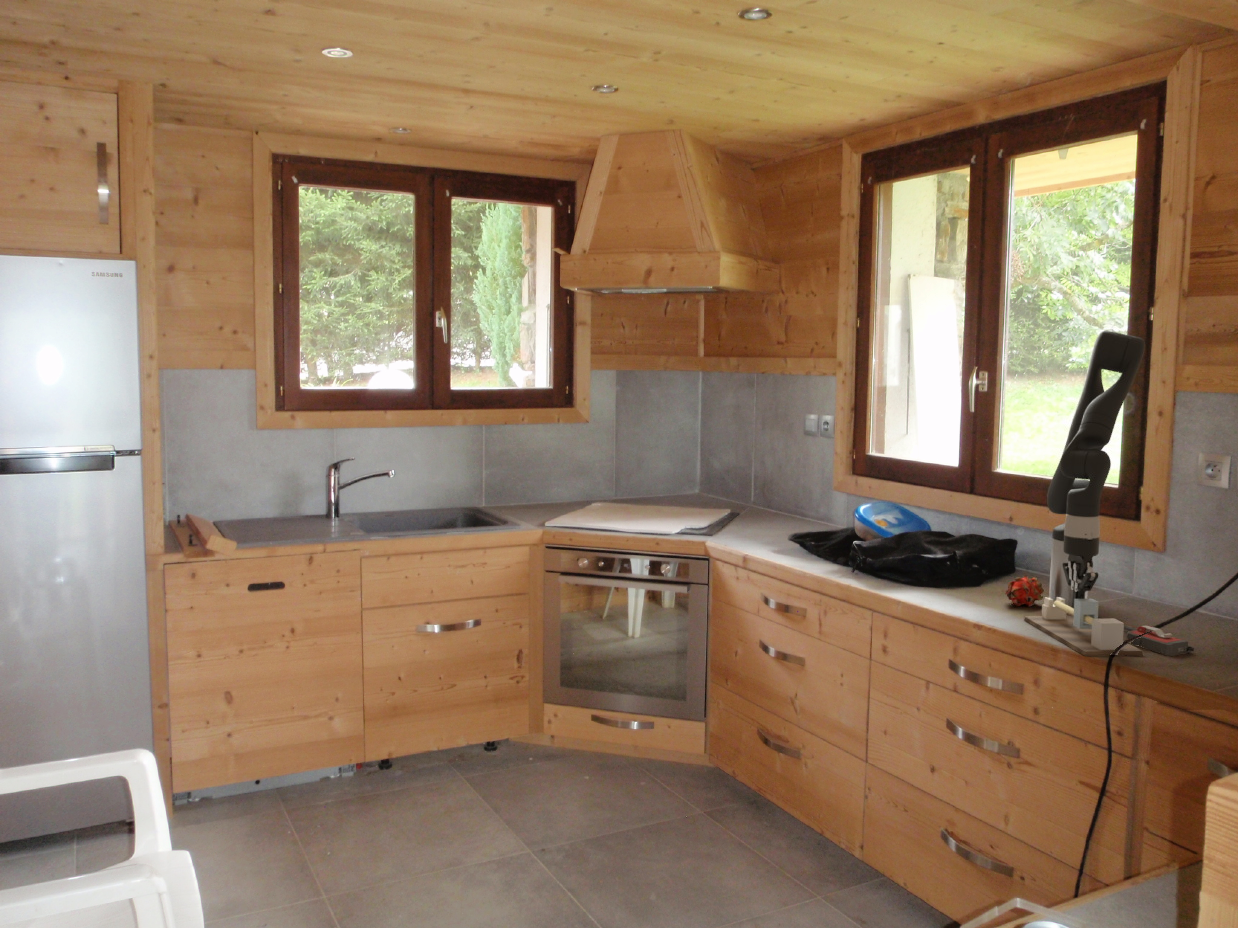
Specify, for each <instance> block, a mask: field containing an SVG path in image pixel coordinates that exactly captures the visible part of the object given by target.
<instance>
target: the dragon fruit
mask: <svg viewBox="0 0 1238 928" xmlns="http://www.w3.org/2000/svg"><path fill="white" fill-rule="evenodd" d="M1044 592H1045V591H1044V588H1043V585H1042V582H1041V581H1040V580H1039V581H1038V578H1037V577H1032V578H1030V577H1028V575H1026V574H1025V575H1023V577H1019V576H1018V577H1016V578H1015V579H1014V580H1011V581H1010V582H1009V583H1008V585H1007V589H1006V591H1005V595H1006V596H1007V598H1008V600H1009V601H1011V603H1010V605H1011V606H1016V607H1020V606H1022V605H1026V606H1027V607H1029V608H1031V606H1033V605H1035V602H1036V601H1041V600H1044V599H1043V598H1044V596H1043V595H1041V594H1043V593H1044Z"/></svg>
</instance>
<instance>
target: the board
mask: <svg viewBox="0 0 1238 928" xmlns="http://www.w3.org/2000/svg"><path fill="white" fill-rule="evenodd" d="M1073 618H1074V616H1073V615H1066V619H1048V620H1046V619H1044V618H1043V617H1042V615H1040V616H1039V615H1035V616H1033V615H1028V616H1026V615H1025V616H1024V618H1023V620H1024V621H1026V622H1027V623H1029V624H1030V625H1031V626H1033V627H1035V628H1037V629H1038V630H1040V631H1042V632H1043V633H1045V634H1046V635H1048V636H1050V637H1052V638H1053V639H1055V640H1057V641H1058V642H1060V643H1062V644H1064V645H1065V646H1067V647H1069V648H1071V649H1073V650H1074V651H1075V650H1076V652H1077V653H1079V654H1080V655H1082V656H1083V657H1101V656H1102V657H1104V656H1105V657H1107V656H1108V657H1109V655H1110V654H1111V653H1113V652H1114V650H1099V649H1098V648H1096V647H1094V646H1092V645H1091V638H1092V629H1078V628H1077V627H1075V626H1073ZM1083 622H1084V621H1083ZM1124 641H1125V640H1123V642H1124ZM1143 653H1144V650H1143V649H1140V648H1138V647H1137V646H1135V645H1132V644H1127V645H1126V646H1125V647H1124V648H1123V650H1120V651H1119V653H1118V657H1119V655H1127V656H1143Z"/></svg>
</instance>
